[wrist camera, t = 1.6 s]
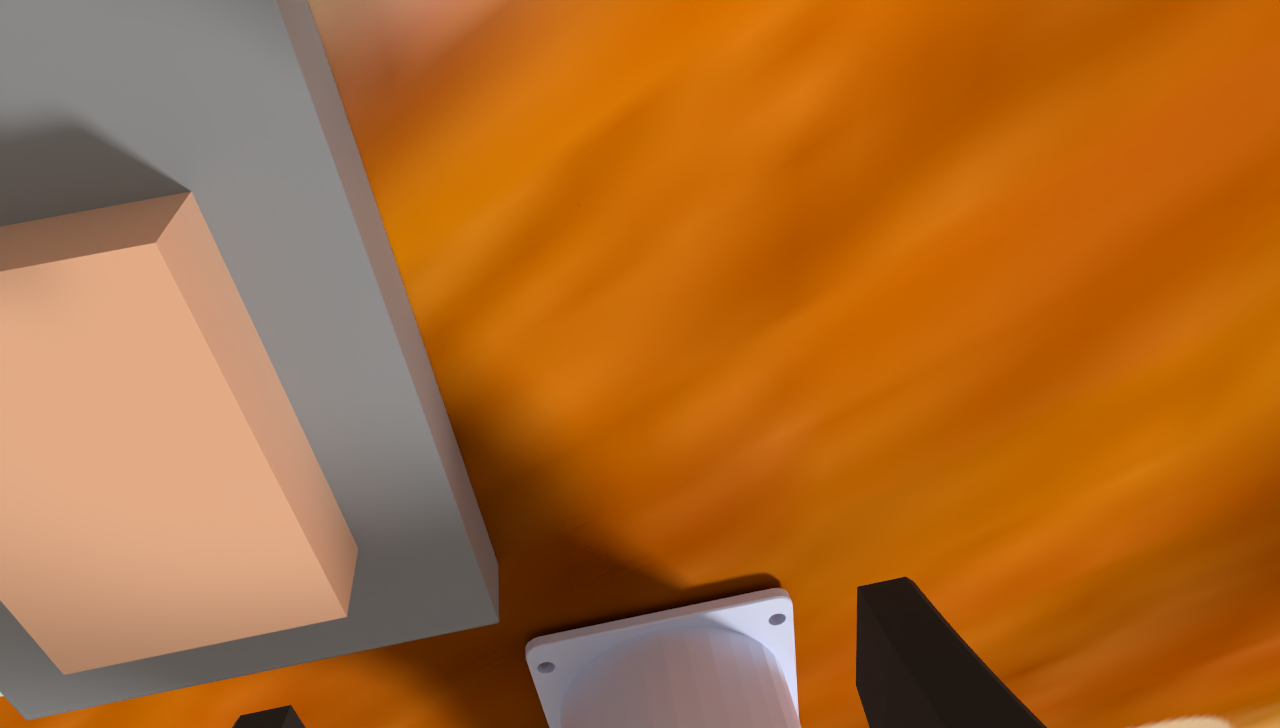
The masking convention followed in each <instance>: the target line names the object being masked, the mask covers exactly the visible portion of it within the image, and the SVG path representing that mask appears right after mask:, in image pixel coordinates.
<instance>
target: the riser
mask: <svg viewBox="0 0 1280 728" xmlns="http://www.w3.org/2000/svg"><path fill="white" fill-rule="evenodd" d="M190 191H191V192H192V194H193V196H194V198H195V200H196V202H197V204H198V206H199V209H200V211H201V213H202V215H203V217H204V219H205V221H206V224H207V226H208V228H209V230H210V232H211V234H212V236H213V239H214V241H215V243H216V245H217V247H218V249H219V251H220V254H221V256H222V258H223V260H224V262H225V264H226V266H227V269H228V271H229V273H230V275H231V277H232V279H233V281H234V284H235V286H236V288H237V290H238V292H239V294H240V296H241V299H242V301H243V303H244V305H245V307H246V309H247V311H248V314H249V316H250V318H251V320H252V322H253V324H254V326H255V329H256V331H257V333H258V335H259V337H260V339H261V341H262V343H263V346H264V348H265V350H266V352H267V354H268V356H269V358H270V361H271V363H272V365H273V367H274V369H275V371H276V373H277V376H278V378H279V380H280V382H281V384H282V386H283V388H284V391H285V393H286V395H287V397H288V399H289V401H290V403H291V406H292V408H293V410H294V412H295V414H296V416H297V418H298V421H299V423H300V425H301V427H302V429H303V431H304V433H305V436H306V438H307V440H308V442H309V444H310V446H311V448H312V451H313V453H314V455H315V457H316V459H317V461H318V463H319V466H320V468H321V470H322V472H323V474H324V476H325V478H326V480H327V483H328V485H329V487H330V489H331V491H332V493H333V495H334V498H335V500H336V502H337V504H338V506H339V508H340V510H341V513H342V515H343V517H344V519H345V521H346V523H347V525H348V528H349V530H350V532H351V534H352V536H353V538H354V540H355V543H356V545H357V547H358V553H357V559H356V565H355V571H354V577H353V583H352V589H351V595H350V601H349V607H348V613H347V617H344V618H339V619H335V620H330V621H325V622H320V623H315V624H310V625H305V626H300V627H295V628H291V629H286V630H281V631H276V632H271V633H266V634H261V635H256V636H252V637H247V638H242V639H237V640H232V641H227V642H222V643H217V644H212V645H208V646H203V647H198V648H193V649H188V650H183V651H178V652H173V653H169V654H164V655H159V656H154V657H149V658H144V659H139V660H134V661H130V662H125V663H120V664H115V665H110V666H105V667H100V668H95V669H90V670H86V671H81V672H76V673H71V674H66V675H64V674H63V673H62V672H61V671H60V670H59V669H58V667H57V666H56V665H55V664H54V663H53V662H52V660H51V659H50V658H49V657H48V656H47V654H46V653H45V652H44V651H43V650H42V649H41V647H40V646H39V645H38V644H37V643H36V642H35V640H34V639H33V638H32V637H31V636H30V635H29V633H28V632H27V631H26V630H25V629H24V627H23V626H22V625H21V624H20V623H19V622H18V620H17V619H16V618H15V617H14V616H13V615H12V613H11V612H10V611H9V610H8V609H7V607H6V606H5V605H4V604H3V603H2V602H1V600H0V692H1V693H2V694H3V695H4V697H5V698H6V699H7V700H8V701H9V702H10V703H11V704H12V705H13V706H14V707H15V708H16V709H17V710H18V711H19V713H20V714H21V715H22V716H23V717H24V718H25V719H26V720H31V719H36V718H40V717H45V716H50V715H55V714H60V713H65V712H69V711H74V710H79V709H84V708H89V707H94V706H99V705H103V704H108V703H113V702H118V701H123V700H128V699H132V698H137V697H142V696H147V695H152V694H157V693H161V692H166V691H171V690H176V689H181V688H186V687H191V686H195V685H200V684H205V683H210V682H215V681H220V680H224V679H229V678H234V677H239V676H244V675H249V674H253V673H258V672H263V671H268V670H273V669H278V668H283V667H287V666H292V665H297V664H302V663H307V662H312V661H316V660H321V659H326V658H331V657H336V656H341V655H346V654H350V653H355V652H360V651H365V650H370V649H375V648H379V647H384V646H389V645H394V644H399V643H404V642H408V641H413V640H418V639H423V638H428V637H433V636H438V635H442V634H447V633H452V632H457V631H462V630H467V629H471V628H476V627H481V626H486V625H491V624H496V623H499V574H498V562H497V559H496V556H495V553H494V550H493V547H492V544H491V541H490V538H489V535H488V532H487V529H486V527H485V524H484V521H483V518H482V515H481V512H480V509H479V506H478V503H477V500H476V497H475V494H474V491H473V488H472V485H471V482H470V479H469V476H468V473H467V470H466V467H465V464H464V462H463V459H462V456H461V453H460V450H459V447H458V444H457V441H456V438H455V435H454V432H453V429H452V426H451V423H450V420H449V417H448V414H447V411H446V408H445V405H444V402H443V400H442V397H441V394H440V391H439V388H438V385H437V382H436V379H435V376H434V373H433V370H432V367H431V364H430V361H429V358H428V355H427V352H426V349H425V346H424V343H423V340H422V337H421V335H420V332H419V329H418V326H417V323H416V320H415V317H414V314H413V311H412V308H411V305H410V302H409V299H408V296H407V293H406V290H405V287H404V284H403V281H402V278H401V275H400V273H399V270H398V267H397V264H396V261H395V258H394V255H393V252H392V249H391V246H390V243H389V240H388V237H387V234H386V231H385V228H384V225H383V222H382V219H381V216H380V213H379V210H378V208H377V205H376V202H375V199H374V196H373V193H372V190H371V187H370V184H369V181H368V178H367V175H366V172H365V169H364V166H363V163H362V160H361V157H360V154H359V151H358V148H357V146H356V143H355V140H354V137H353V134H352V131H351V128H350V125H349V122H348V119H347V116H346V113H345V110H344V107H343V104H342V101H341V98H340V95H339V92H338V89H337V86H336V83H335V81H334V78H333V75H332V72H331V69H330V66H329V63H328V60H327V57H326V54H325V51H324V48H323V45H322V42H321V39H320V36H319V33H318V30H317V27H316V24H315V21H314V19H313V16H312V13H311V10H310V7H309V4H308V1H307V0H0V227H1V226H6V225H12V224H17V223H23V222H28V221H33V220H39V219H44V218H50V217H55V216H60V215H66V214H71V213H77V212H82V211H87V210H93V209H98V208H104V207H109V206H114V205H120V204H125V203H131V202H136V201H141V200H147V199H152V198H158V197H163V196H169V195H174V194H179V193H185V192H190Z"/></svg>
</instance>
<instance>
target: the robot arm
mask: <svg viewBox="0 0 1280 728" xmlns="http://www.w3.org/2000/svg"><path fill="white" fill-rule="evenodd" d="M526 661H527V664H528V667H529V670H530V673H531V676H532V679H533V681H534V684H535V687H536V690H537V693H538V696H539V699H540V702H541V705H542V708H543V711H544V713H545V716H546V719H547V722H548V725H549V728H801V725H800V722H799V713H798V695H797V677H796V659H795V641H794V623H793V605H792V601H791V599H790V596H789V593H788V592H787V591H786V590H785V589H781V588H771V589H766V590H761V591H756V592H752V593H747V594H742V595H737V596H732V597H727V598H723V599H718V600H713V601H708V602H703V603H699V604H694V605H689V606H684V607H679V608H674V609H670V610H665V611H660V612H655V613H650V614H646V615H641V616H636V617H631V618H626V619H621V620H617V621H612V622H607V623H602V624H597V625H593V626H588V627H583V628H578V629H573V630H568V631H564V632H559V633H554V634H549V635H544V636H539V637H536V638H534V639H532V640H531V641H529V642H528V643H527V645H526ZM856 687H857V690H858V693H859V696H860V699H861V702H862V705H863V708H864V711H865V714H866V717H867V720H868V723H869V727H870V728H1047V727H1046V726H1045V725H1044V724H1043V723H1042V722H1041V721H1040V720H1039V719H1038V718H1037V717H1036V716H1035V715H1034V714H1033V713H1032V712H1031V711H1030V710H1029V709H1028V708H1027V707H1026V706H1025V705H1024V704H1023V703H1022V702H1021V701H1020V700H1019V699H1018V698H1017V697H1016V696H1015V695H1014V694H1013V693H1012V692H1011V691H1010V690H1009V689H1008V688H1007V687H1006V686H1005V685H1004V683H1003V682H1002V681H1001V680H1000V679H999V678H998V677H997V676H996V675H995V674H994V673H993V672H992V671H991V670H990V669H989V668H988V666H987V665H986V664H985V663H984V662H983V661H982V660H981V659H980V658H979V657H978V656H977V654H976V653H975V652H974V651H973V650H972V649H971V648H970V647H969V646H968V645H967V644H966V642H965V641H964V640H963V639H962V638H961V637H960V636H959V635H958V633H957V632H956V631H955V630H954V629H953V628H952V627H951V625H950V624H949V623H948V622H947V621H946V620H945V619H944V617H943V616H942V615H941V614H940V613H939V612H938V610H937V609H936V608H935V607H934V606H933V604H932V603H931V602H930V601H929V600H928V599H927V597H926V596H925V595H924V594H923V592H922V591H921V590H920V589H919V588H918V586H917V585H916V584H915V583H914V581H912V580H910V579H908V578H907V577H902V578H897V579H893V580H888V581H883V582H878V583H874V584H869V585H864V586H859V587H857V651H856ZM232 728H305V726H304V725H303V723H302V722H301V720H300V719H299V717H298V715H297V714H296V712H295V711H294V709H293V708H292V706H291V705H289V706H284V707H280V708H275V709H270V710H265V711H260V712H256V713H251V714H246V715H241V716H240V717H239V718H238V720H237V721H236V722H235V724H234V726H233V727H232Z"/></svg>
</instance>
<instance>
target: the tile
mask: <svg viewBox="0 0 1280 728" xmlns="http://www.w3.org/2000/svg"><path fill="white" fill-rule="evenodd" d="M357 553H358V547H357V545H356V543H355V540H354V538H353V536H352V534H351V532H350V530H349V528H348V525H347V523H346V521H345V519H344V517H343V515H342V513H341V510H340V508H339V506H338V504H337V502H336V500H335V498H334V495H333V493H332V491H331V489H330V487H329V485H328V483H327V480H326V478H325V476H324V474H323V472H322V470H321V468H320V466H319V463H318V461H317V459H316V457H315V455H314V453H313V451H312V448H311V446H310V444H309V442H308V440H307V438H306V436H305V433H304V431H303V429H302V427H301V425H300V423H299V421H298V418H297V416H296V414H295V412H294V410H293V408H292V406H291V403H290V401H289V399H288V397H287V395H286V393H285V391H284V388H283V386H282V384H281V382H280V380H279V378H278V376H277V373H276V371H275V369H274V367H273V365H272V363H271V361H270V358H269V356H268V354H267V352H266V350H265V348H264V346H263V343H262V341H261V339H260V337H259V335H258V333H257V331H256V329H255V326H254V324H253V322H252V320H251V318H250V316H249V314H248V311H247V309H246V307H245V305H244V303H243V301H242V299H241V296H240V294H239V292H238V290H237V288H236V286H235V284H234V281H233V279H232V277H231V275H230V273H229V271H228V269H227V266H226V264H225V262H224V260H223V258H222V256H221V254H220V251H219V249H218V247H217V245H216V243H215V241H214V239H213V236H212V234H211V232H210V230H209V228H208V226H207V224H206V221H205V219H204V217H203V215H202V213H201V211H200V209H199V206H198V204H197V202H196V200H195V198H194V196H193V194H192V192H191V191H190V192H185V193H179V194H174V195H169V196H163V197H158V198H152V199H147V200H141V201H136V202H131V203H125V204H120V205H114V206H109V207H104V208H98V209H93V210H87V211H82V212H77V213H71V214H66V215H60V216H55V217H50V218H44V219H39V220H33V221H28V222H23V223H17V224H12V225H6V226H1V227H0V600H1V602H2V603H3V604H4V605H5V606H6V607H7V609H8V610H9V611H10V612H11V613H12V615H13V616H14V617H15V618H16V619H17V620H18V622H19V623H20V624H21V625H22V626H23V627H24V629H25V630H26V631H27V632H28V633H29V635H30V636H31V637H32V638H33V639H34V640H35V642H36V643H37V644H38V645H39V646H40V647H41V649H42V650H43V651H44V652H45V653H46V654H47V656H48V657H49V658H50V659H51V660H52V662H53V663H54V664H55V665H56V666H57V667H58V669H59V670H60V671H61V672H62V673H63V674H64V675H66V674H71V673H76V672H81V671H86V670H90V669H95V668H100V667H105V666H110V665H115V664H120V663H125V662H130V661H134V660H139V659H144V658H149V657H154V656H159V655H164V654H169V653H173V652H178V651H183V650H188V649H193V648H198V647H203V646H208V645H212V644H217V643H222V642H227V641H232V640H237V639H242V638H247V637H252V636H256V635H261V634H266V633H271V632H276V631H281V630H286V629H291V628H295V627H300V626H305V625H310V624H315V623H320V622H325V621H330V620H335V619H339V618H344V617H347V613H348V607H349V601H350V595H351V589H352V583H353V577H354V571H355V565H356V559H357Z"/></svg>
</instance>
